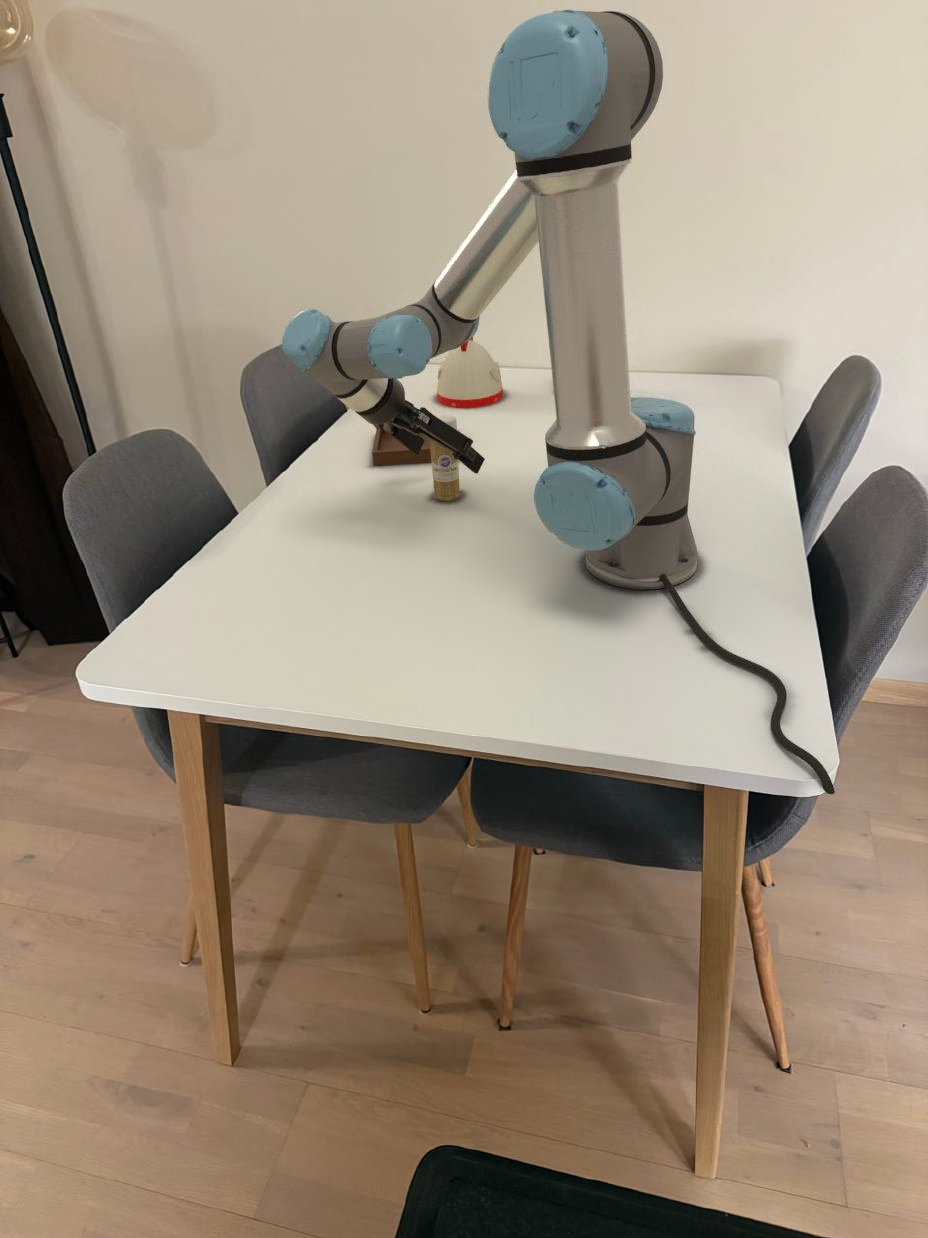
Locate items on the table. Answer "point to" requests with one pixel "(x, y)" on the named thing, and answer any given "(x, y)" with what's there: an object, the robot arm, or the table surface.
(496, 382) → the kitchen timer
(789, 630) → the table surface
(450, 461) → the sprinkles bottle
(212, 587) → the table surface
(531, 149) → the robot arm
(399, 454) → the wooden tray
